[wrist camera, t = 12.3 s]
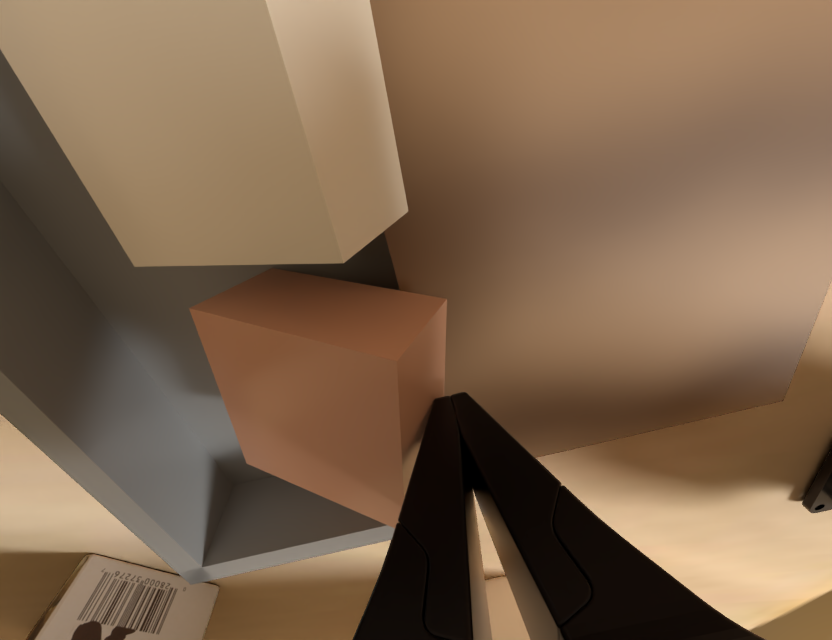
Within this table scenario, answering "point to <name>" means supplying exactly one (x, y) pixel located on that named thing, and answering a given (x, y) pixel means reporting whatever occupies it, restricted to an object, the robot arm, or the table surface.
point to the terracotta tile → (328, 381)
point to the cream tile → (217, 123)
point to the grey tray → (141, 373)
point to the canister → (504, 611)
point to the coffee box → (126, 605)
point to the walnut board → (613, 202)
